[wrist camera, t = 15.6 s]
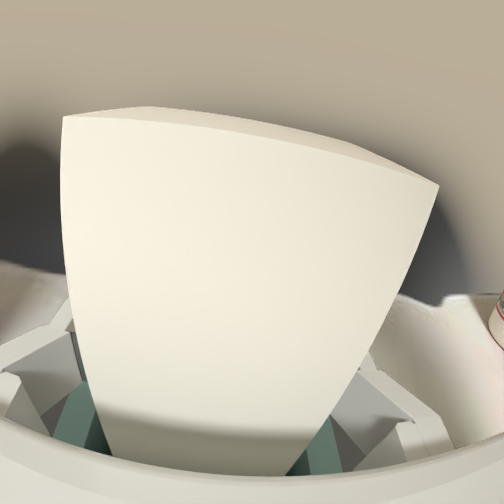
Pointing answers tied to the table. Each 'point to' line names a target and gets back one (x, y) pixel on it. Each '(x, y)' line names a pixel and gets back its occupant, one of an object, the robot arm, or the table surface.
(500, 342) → the fruit juice
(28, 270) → the table surface
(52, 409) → the socket dock
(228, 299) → the keyed plug
